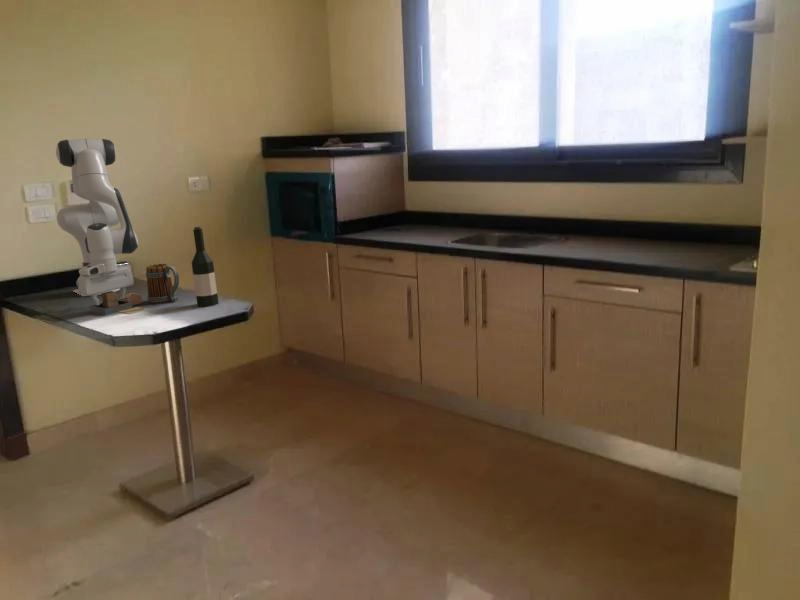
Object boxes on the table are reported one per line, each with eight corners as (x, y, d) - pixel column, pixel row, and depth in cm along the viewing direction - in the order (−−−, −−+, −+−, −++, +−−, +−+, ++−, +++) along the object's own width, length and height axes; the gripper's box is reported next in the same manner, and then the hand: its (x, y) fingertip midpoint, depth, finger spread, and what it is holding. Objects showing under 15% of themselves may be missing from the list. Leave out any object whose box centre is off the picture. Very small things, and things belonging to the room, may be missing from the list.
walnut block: (104, 311, 258) (101, 293, 257) (113, 308, 261) (110, 291, 260) (109, 312, 256) (106, 294, 254) (119, 309, 259) (116, 291, 257)
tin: (91, 313, 258) (89, 305, 257) (117, 306, 266) (116, 299, 266) (105, 316, 251) (104, 308, 251) (132, 309, 260) (131, 302, 259)
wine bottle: (221, 301, 264) (211, 225, 257) (215, 306, 255) (204, 227, 249) (200, 302, 264) (190, 226, 257) (193, 307, 256) (182, 229, 249)
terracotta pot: (120, 305, 268) (118, 296, 267) (134, 302, 272) (132, 293, 271) (128, 307, 264) (127, 297, 263) (142, 303, 269) (140, 294, 268)
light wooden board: (118, 313, 255) (118, 311, 255) (137, 308, 261) (137, 306, 261) (129, 315, 250) (129, 314, 250) (148, 310, 256) (148, 309, 256)
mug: (142, 304, 267) (136, 267, 264) (163, 298, 276) (157, 262, 273) (171, 306, 260) (165, 268, 257) (191, 300, 269) (185, 263, 266)
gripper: (125, 261, 265) (130, 295, 268) (74, 271, 249) (81, 307, 252) (134, 262, 261) (139, 296, 264) (82, 272, 245) (89, 308, 248)
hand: (110, 302), depth 258 cm, fingers open, 8 cm apart
